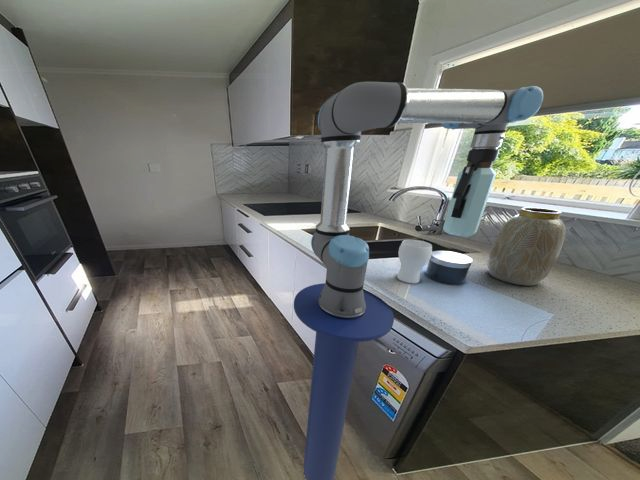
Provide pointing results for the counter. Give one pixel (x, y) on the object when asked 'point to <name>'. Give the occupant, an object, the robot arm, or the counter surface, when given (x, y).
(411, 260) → the cup
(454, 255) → the navy round container
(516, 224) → the vase
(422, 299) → the counter surface
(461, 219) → the water bottle
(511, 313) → the counter surface
